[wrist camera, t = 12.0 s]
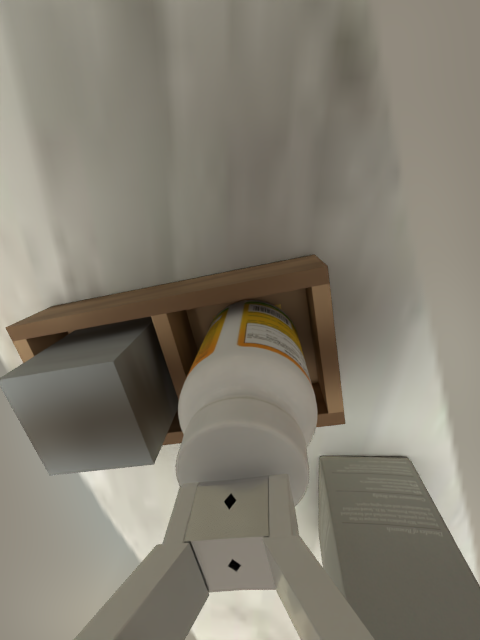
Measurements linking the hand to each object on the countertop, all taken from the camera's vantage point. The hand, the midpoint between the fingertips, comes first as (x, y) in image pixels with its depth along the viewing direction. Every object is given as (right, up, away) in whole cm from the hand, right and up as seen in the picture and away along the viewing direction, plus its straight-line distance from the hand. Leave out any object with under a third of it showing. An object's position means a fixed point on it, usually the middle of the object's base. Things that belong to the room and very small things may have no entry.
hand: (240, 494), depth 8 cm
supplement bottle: (+1, +4, +10) cm, 10 cm away
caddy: (-3, +3, +11) cm, 11 cm away
